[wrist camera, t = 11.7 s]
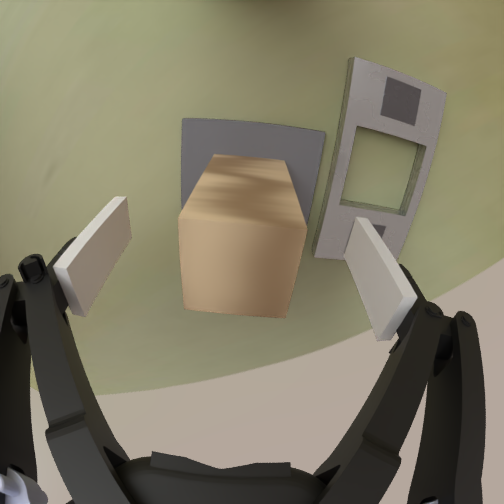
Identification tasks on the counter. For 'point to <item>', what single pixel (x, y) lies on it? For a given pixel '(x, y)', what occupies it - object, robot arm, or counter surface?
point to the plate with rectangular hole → (388, 121)
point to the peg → (241, 238)
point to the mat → (251, 151)
